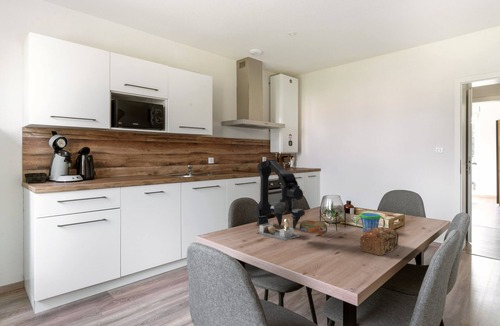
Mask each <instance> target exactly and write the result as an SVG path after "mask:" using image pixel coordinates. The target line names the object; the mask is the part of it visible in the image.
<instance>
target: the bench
mask: <svg viewBox="0 0 500 326" xmlns="http://www.w3.org/2000/svg"><path fill="white" fill-rule="evenodd" d="M271 226H272V227H274V223H272V222H268V223H266V224H261V225H260V226H259V232H256V234H257V235H261V236H264V237H268V238H271V239H275V240H278V241H279V240H280V241H283V242H285V241H289V240H292V239H295V238H299V237H301V236H302V235H300V234H297V233H294V236H291V237H288V238H283V237H280V229H277V228H275V233H273V234H271V233H268V227H271Z"/></svg>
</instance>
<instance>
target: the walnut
mask: <svg viewBox="0 0 500 326" xmlns="http://www.w3.org/2000/svg"><path fill="white" fill-rule="evenodd" d="M275 229H276V227H275V226H273V227H272V226H271V227H268V233H271V234H273V233H275Z"/></svg>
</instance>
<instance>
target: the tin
mask: <svg viewBox="0 0 500 326" xmlns="http://www.w3.org/2000/svg"><path fill="white" fill-rule="evenodd" d="M299 230H300V232H301V233H303V232H304V233H309V234H316V235H315V237H318V238H321V237H324V236H325V235H326V234H327V232H328V225H327V224H326V223H325V222H324V221H321V220H315V219H303V220H302V221H301V222H300V224H299Z"/></svg>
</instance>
